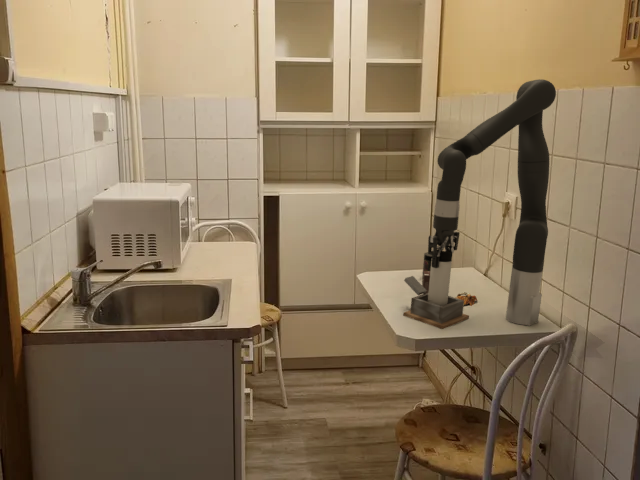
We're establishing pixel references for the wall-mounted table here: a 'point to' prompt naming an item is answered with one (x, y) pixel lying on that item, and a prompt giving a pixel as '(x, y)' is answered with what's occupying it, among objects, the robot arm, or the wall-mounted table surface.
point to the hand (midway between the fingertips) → (441, 265)
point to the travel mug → (440, 280)
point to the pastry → (467, 298)
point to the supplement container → (427, 262)
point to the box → (426, 280)
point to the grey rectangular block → (415, 285)
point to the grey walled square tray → (436, 311)
